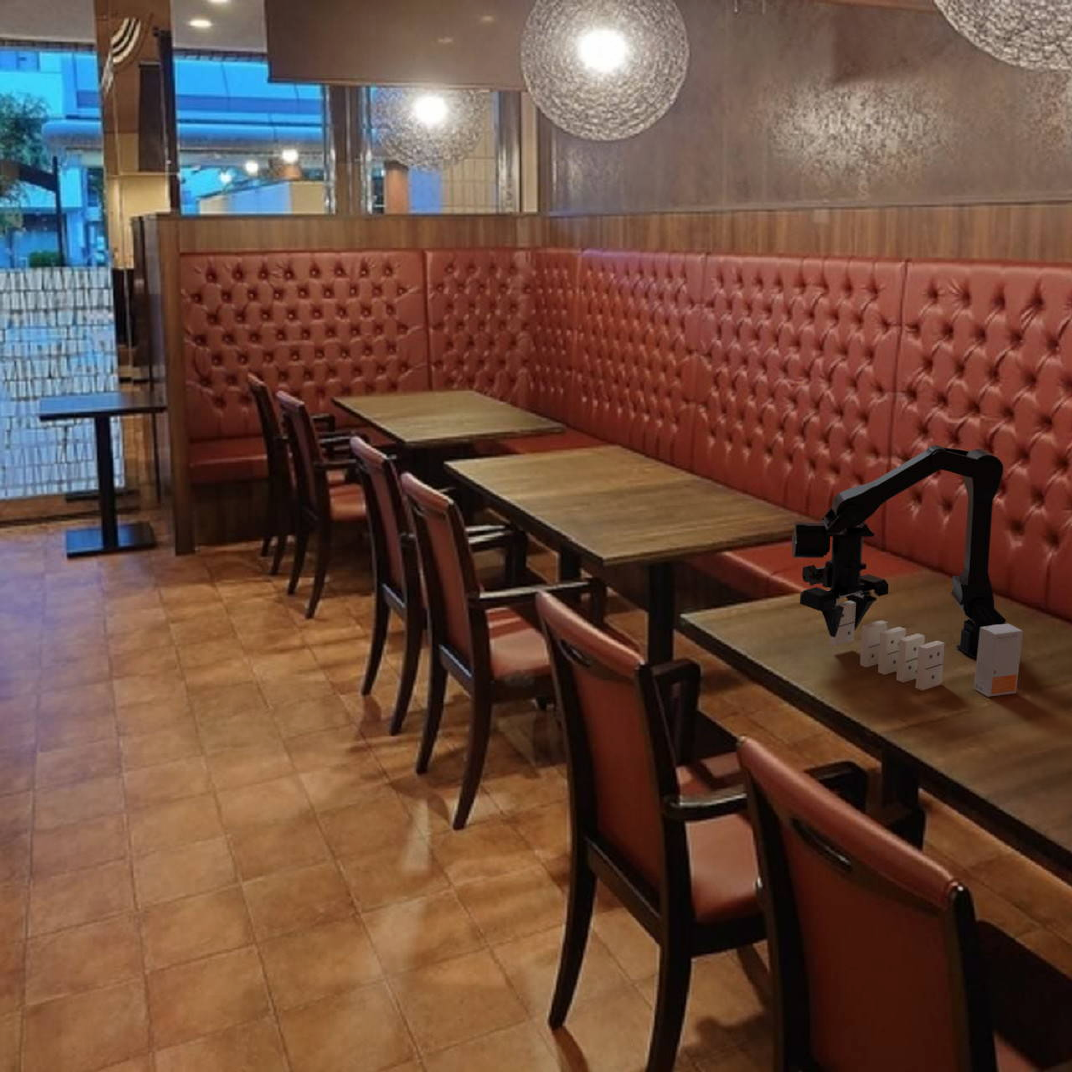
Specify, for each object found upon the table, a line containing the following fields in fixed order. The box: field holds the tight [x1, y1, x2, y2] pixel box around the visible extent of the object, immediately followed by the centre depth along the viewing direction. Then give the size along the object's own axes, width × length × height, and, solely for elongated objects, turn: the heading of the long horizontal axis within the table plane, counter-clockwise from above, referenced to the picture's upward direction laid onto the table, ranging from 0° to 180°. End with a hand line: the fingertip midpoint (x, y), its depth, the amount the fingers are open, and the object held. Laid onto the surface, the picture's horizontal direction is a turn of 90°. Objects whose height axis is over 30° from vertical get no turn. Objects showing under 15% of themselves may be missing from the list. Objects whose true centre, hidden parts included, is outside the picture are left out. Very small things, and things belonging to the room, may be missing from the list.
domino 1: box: [829, 600, 856, 647], centre depth 221 cm, size 2×5×8 cm, turn 122°
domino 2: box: [859, 619, 888, 668], centre depth 215 cm, size 2×5×8 cm, turn 122°
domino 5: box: [915, 640, 945, 691], centre depth 204 cm, size 2×5×8 cm, turn 122°
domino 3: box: [877, 626, 907, 676], centre depth 212 cm, size 2×5×8 cm, turn 122°
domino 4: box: [895, 633, 926, 683], centre depth 208 cm, size 2×5×8 cm, turn 122°
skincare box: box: [973, 623, 1024, 698], centre depth 201 cm, size 6×4×12 cm
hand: (842, 633), depth 222 cm, fingers closed on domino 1, 5 cm apart
